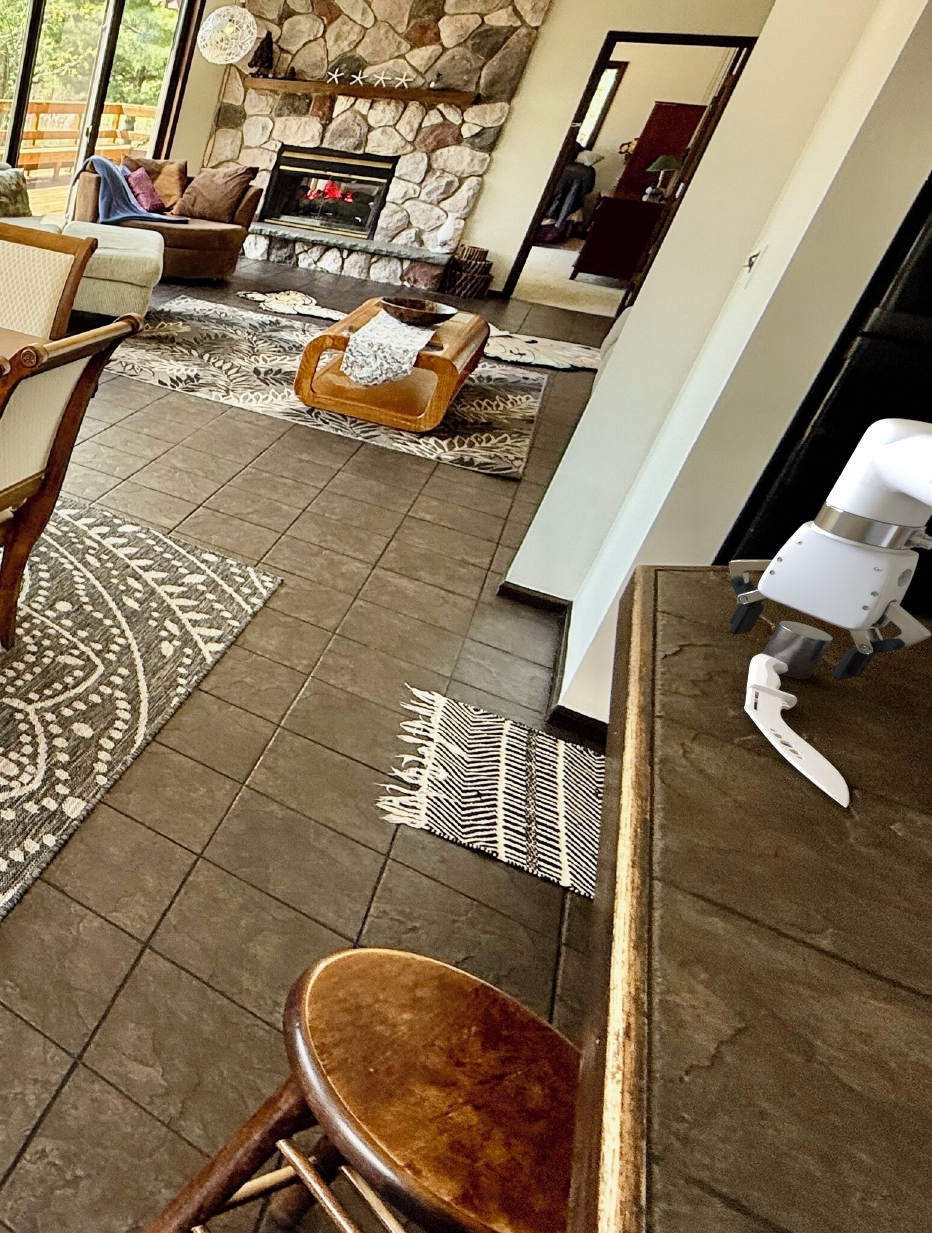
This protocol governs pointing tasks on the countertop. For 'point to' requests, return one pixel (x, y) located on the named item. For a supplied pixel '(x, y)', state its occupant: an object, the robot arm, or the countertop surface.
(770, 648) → the cylinder
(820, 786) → the knife
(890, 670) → the countertop surface
